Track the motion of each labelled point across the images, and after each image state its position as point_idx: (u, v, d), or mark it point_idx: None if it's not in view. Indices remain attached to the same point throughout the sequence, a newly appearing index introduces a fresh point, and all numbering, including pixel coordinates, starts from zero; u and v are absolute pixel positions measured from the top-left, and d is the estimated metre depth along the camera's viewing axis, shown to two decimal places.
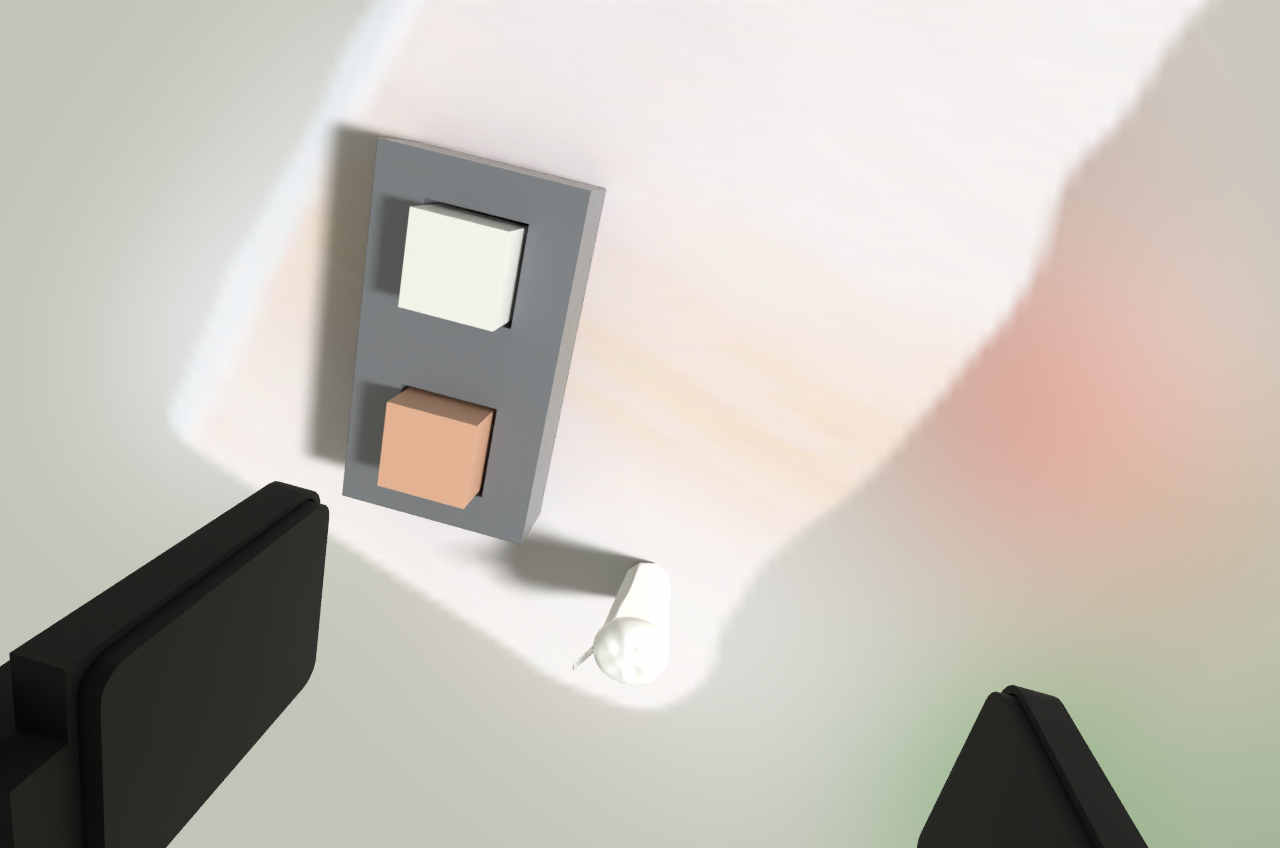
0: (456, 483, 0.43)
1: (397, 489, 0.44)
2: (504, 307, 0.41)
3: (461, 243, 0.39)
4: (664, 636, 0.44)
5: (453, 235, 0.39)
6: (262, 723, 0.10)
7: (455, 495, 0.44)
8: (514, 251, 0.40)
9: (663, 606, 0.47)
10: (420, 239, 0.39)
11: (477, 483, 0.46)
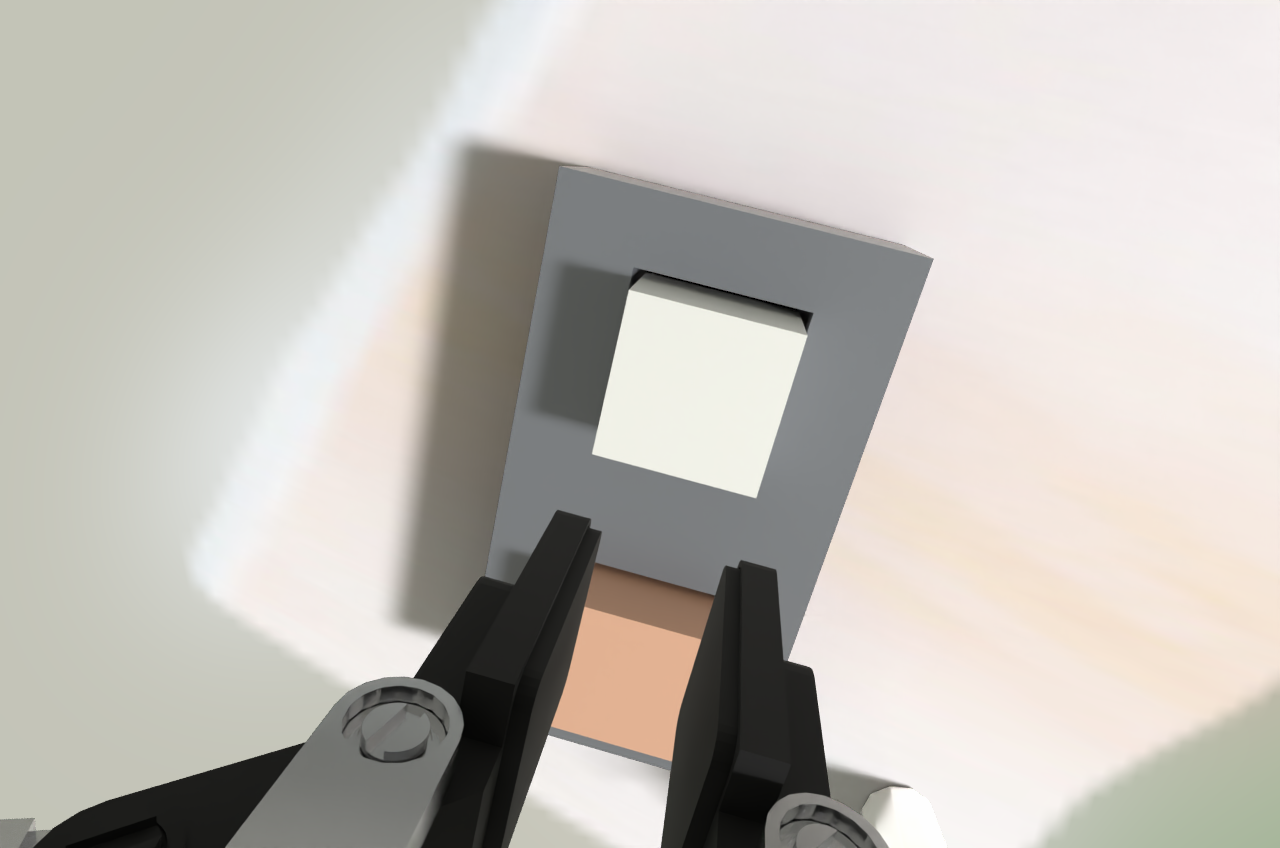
0: (665, 724, 0.27)
1: (565, 728, 0.27)
2: None
3: (717, 352, 0.22)
4: None
5: (704, 339, 0.22)
6: (548, 728, 0.11)
7: (661, 741, 0.27)
8: None
9: None
10: (642, 345, 0.22)
11: None
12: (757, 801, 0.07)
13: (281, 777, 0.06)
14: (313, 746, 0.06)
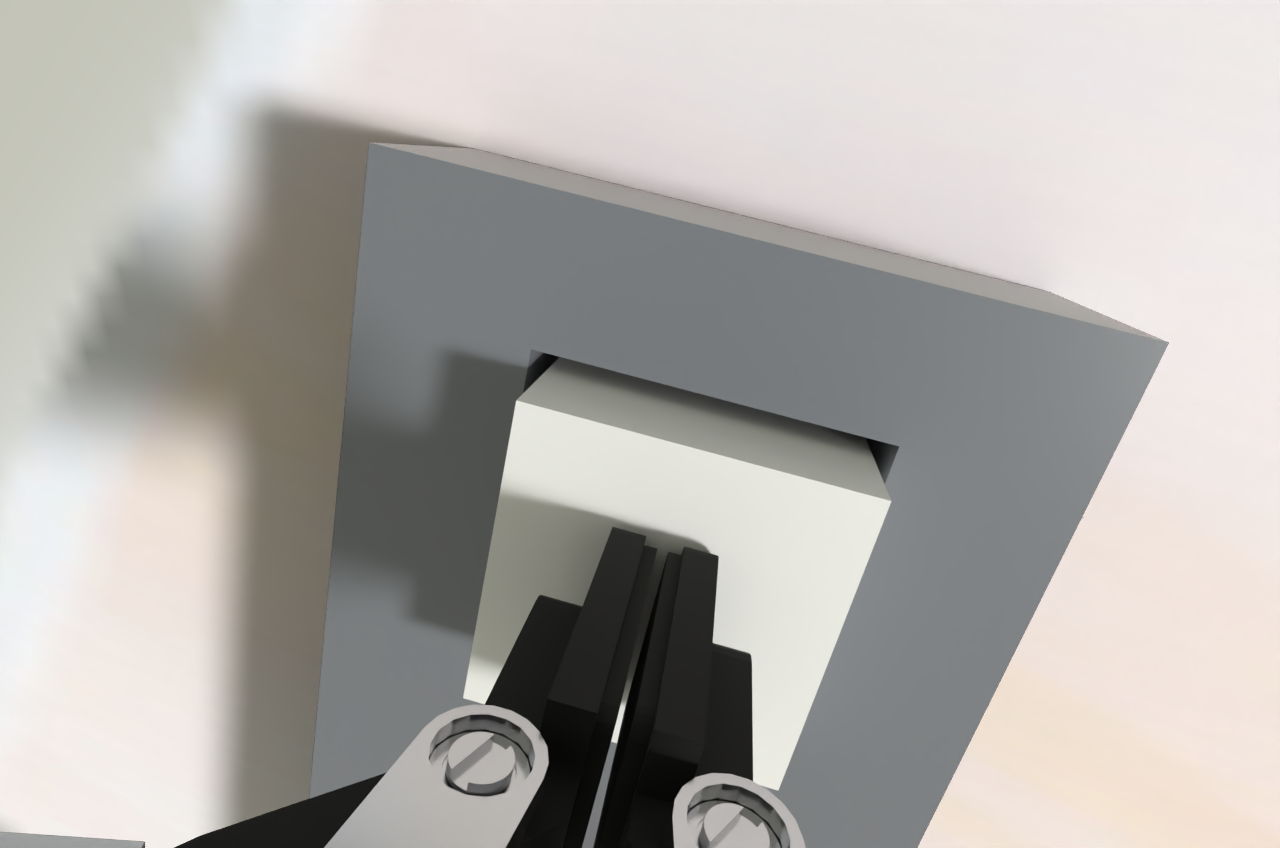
0: None
1: None
2: None
3: (702, 528, 0.11)
4: None
5: (674, 502, 0.11)
6: None
7: None
8: None
9: None
10: (548, 509, 0.11)
11: None
12: (673, 782, 0.07)
13: (368, 796, 0.06)
14: (400, 769, 0.06)
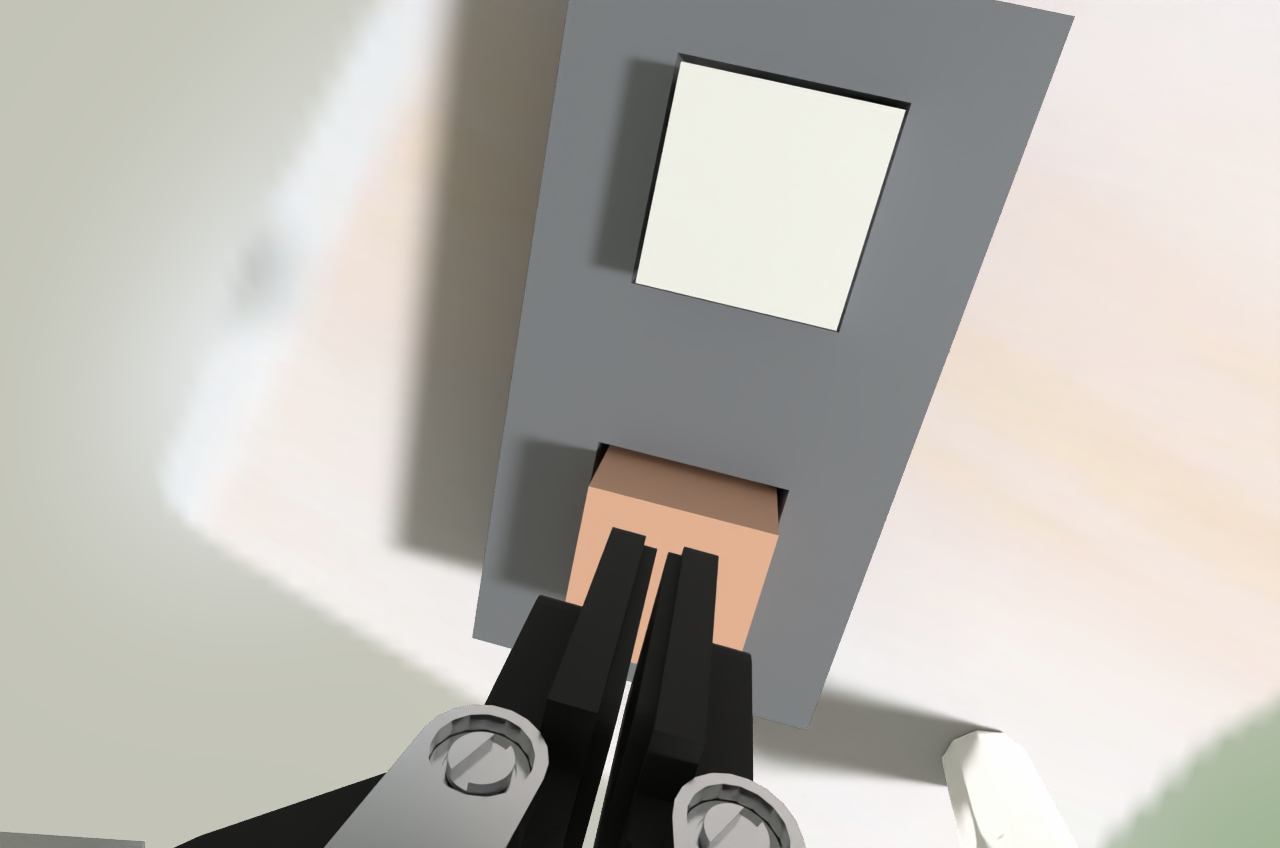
0: (720, 642, 0.22)
1: None
2: None
3: (791, 140, 0.18)
4: None
5: (775, 124, 0.18)
6: None
7: None
8: None
9: (1077, 844, 0.25)
10: (697, 136, 0.18)
11: None
12: (673, 781, 0.07)
13: (366, 798, 0.06)
14: (400, 770, 0.06)
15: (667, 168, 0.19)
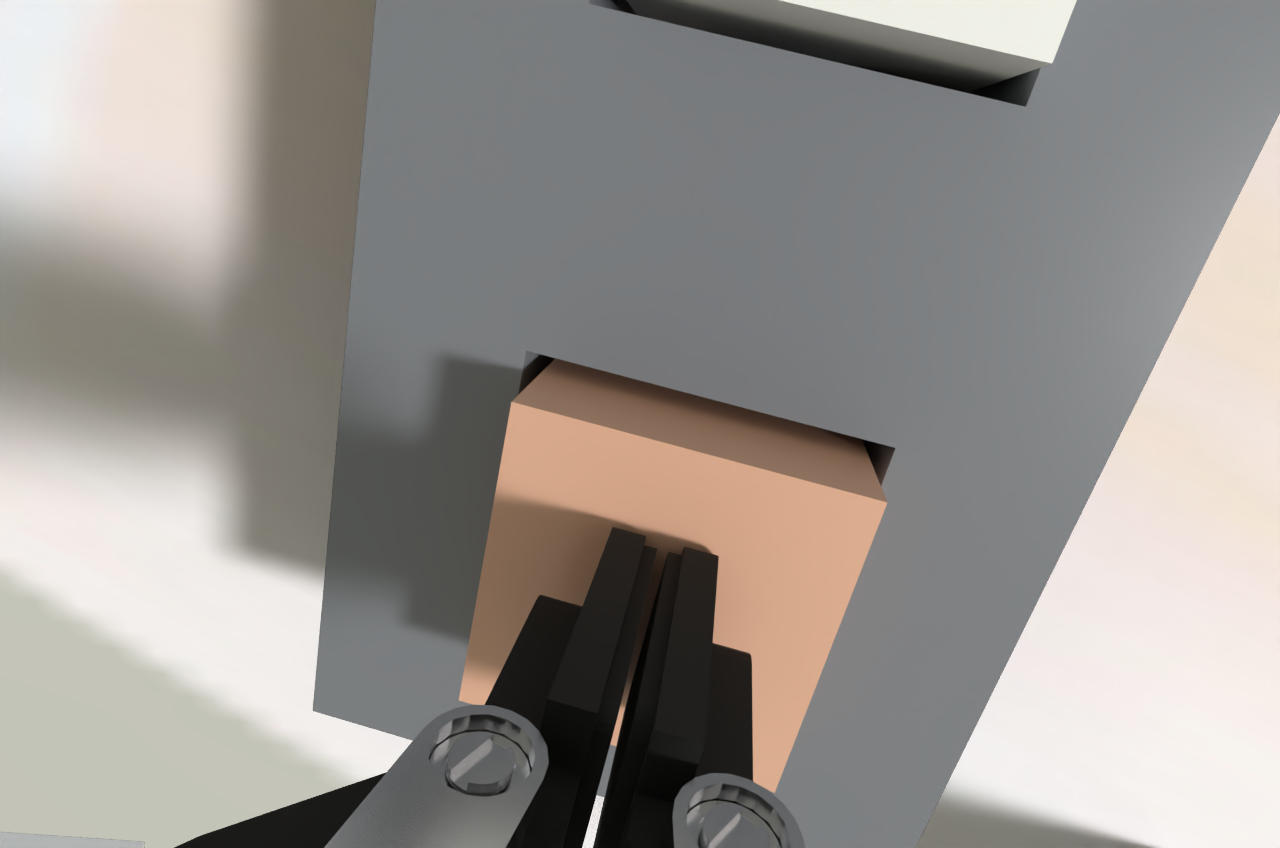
0: (761, 707, 0.12)
1: None
2: None
3: None
4: None
5: None
6: None
7: None
8: None
9: None
10: None
11: None
12: (673, 781, 0.07)
13: (367, 797, 0.06)
14: (400, 769, 0.06)
15: None
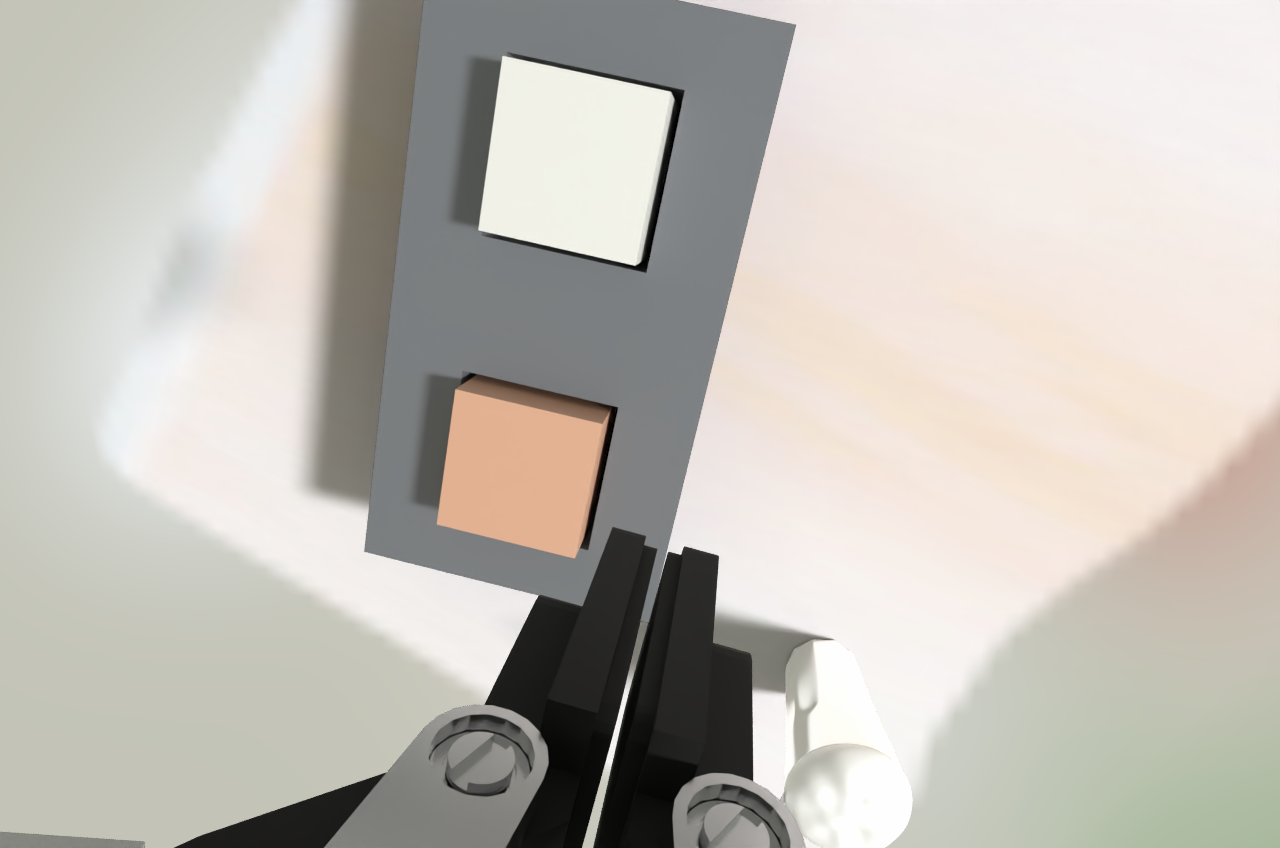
0: (565, 517, 0.27)
1: (469, 529, 0.28)
2: (646, 230, 0.26)
3: (589, 115, 0.23)
4: (904, 773, 0.27)
5: (575, 103, 0.23)
6: None
7: (562, 537, 0.28)
8: (666, 136, 0.25)
9: (877, 715, 0.30)
10: (518, 113, 0.24)
11: (588, 517, 0.29)
12: (674, 782, 0.07)
13: (367, 798, 0.06)
14: (400, 769, 0.06)
15: (497, 138, 0.24)
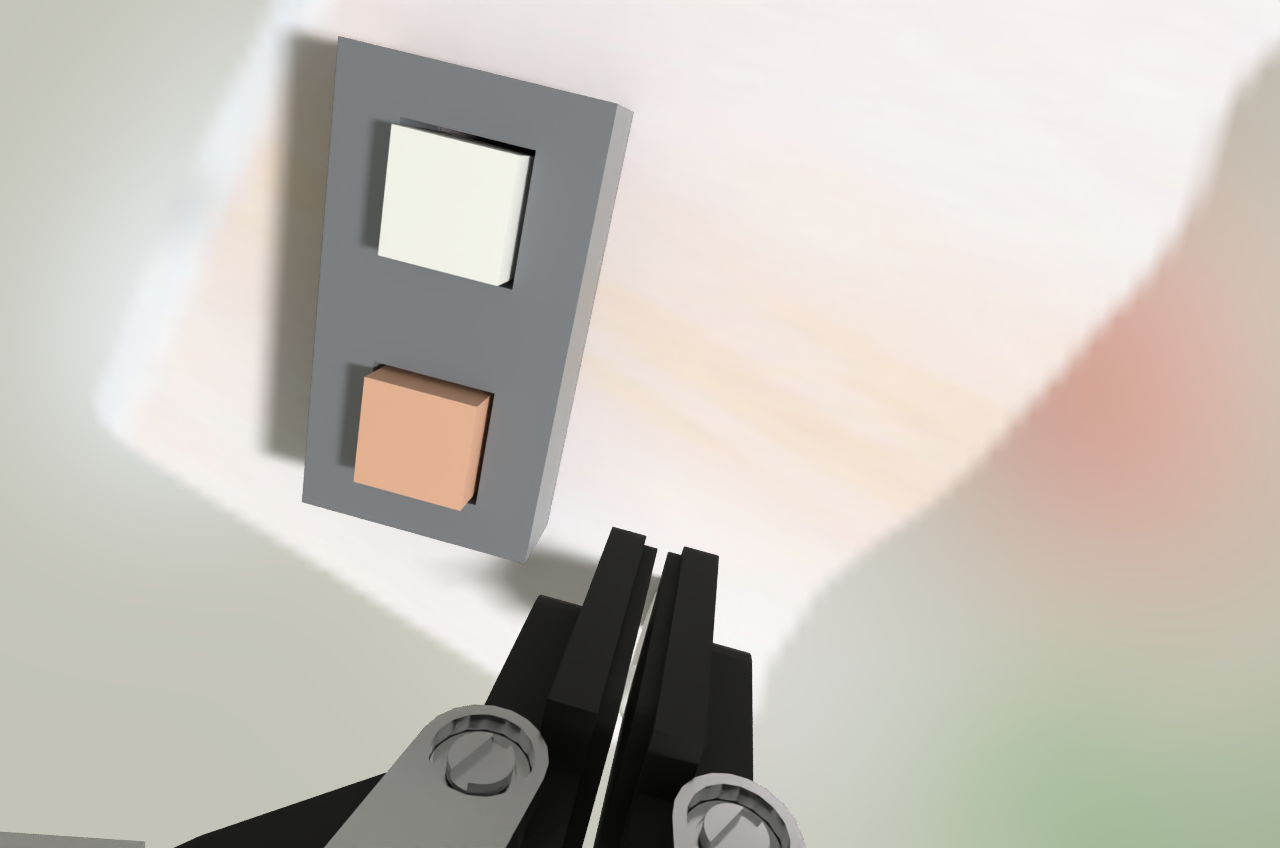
0: (451, 478, 0.35)
1: (378, 486, 0.36)
2: (511, 257, 0.33)
3: (458, 171, 0.30)
4: None
5: (447, 161, 0.30)
6: None
7: (450, 493, 0.35)
8: (524, 184, 0.32)
9: None
10: (405, 167, 0.31)
11: (477, 479, 0.37)
12: (673, 781, 0.07)
13: (368, 796, 0.06)
14: (400, 769, 0.06)
15: (389, 186, 0.31)
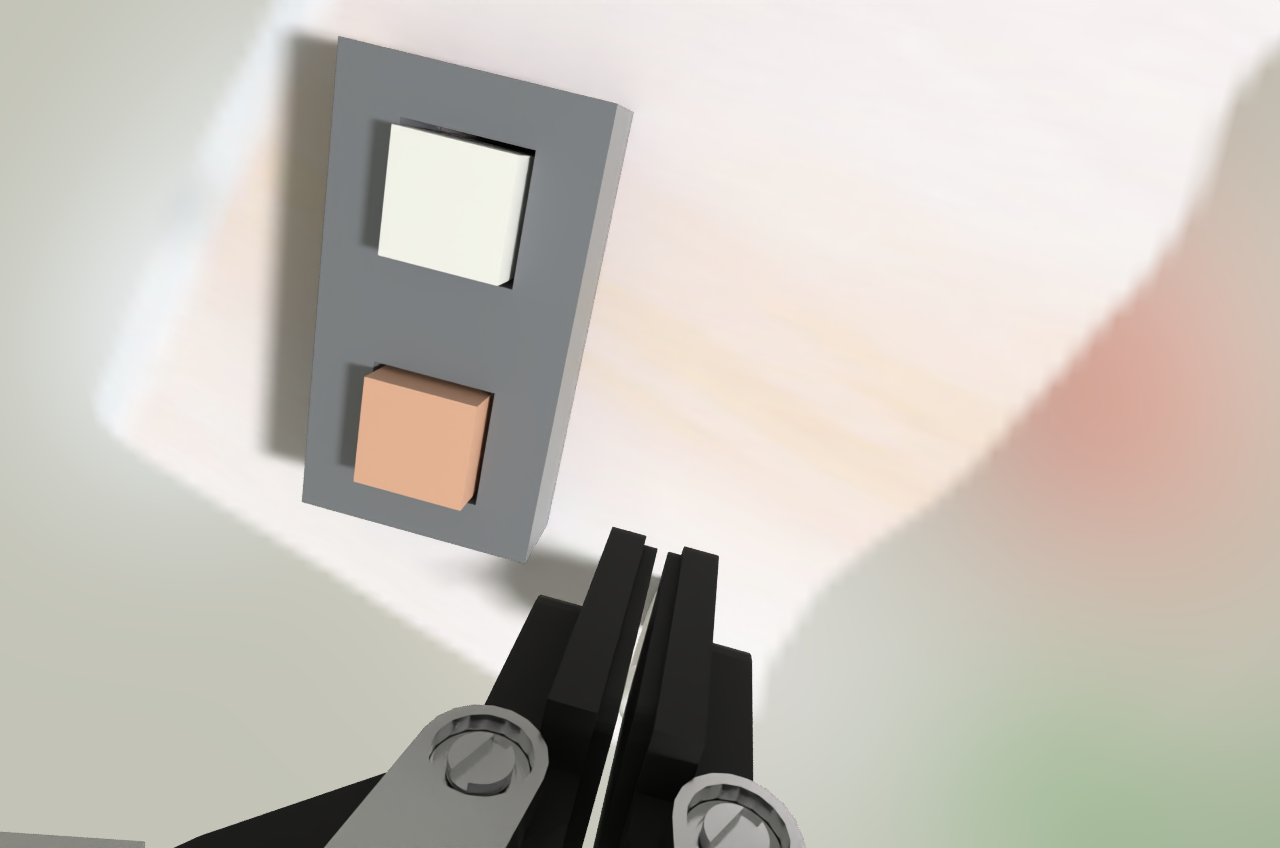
0: (451, 478, 0.35)
1: (378, 486, 0.36)
2: (511, 257, 0.33)
3: (458, 170, 0.30)
4: None
5: (447, 161, 0.30)
6: None
7: (450, 493, 0.35)
8: (524, 184, 0.32)
9: None
10: (405, 167, 0.31)
11: (477, 479, 0.37)
12: (673, 781, 0.07)
13: (367, 797, 0.06)
14: (400, 769, 0.06)
15: (389, 185, 0.31)
